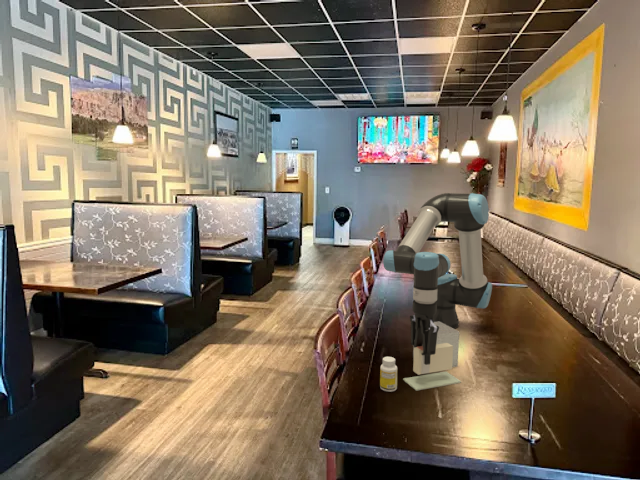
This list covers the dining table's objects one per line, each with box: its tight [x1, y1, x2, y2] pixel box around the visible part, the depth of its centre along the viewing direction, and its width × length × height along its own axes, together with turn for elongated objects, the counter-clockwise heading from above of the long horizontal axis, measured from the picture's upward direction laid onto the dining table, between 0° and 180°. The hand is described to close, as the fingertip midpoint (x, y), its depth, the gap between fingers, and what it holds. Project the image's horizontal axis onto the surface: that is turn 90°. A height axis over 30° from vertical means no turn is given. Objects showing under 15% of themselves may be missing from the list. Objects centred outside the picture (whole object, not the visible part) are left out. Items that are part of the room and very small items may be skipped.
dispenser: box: [412, 321, 460, 368], centre depth 161 cm, size 12×12×13 cm
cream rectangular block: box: [412, 343, 453, 376], centre depth 146 cm, size 13×3×8 cm, turn 110°
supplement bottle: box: [379, 356, 398, 393], centre depth 141 cm, size 5×5×10 cm
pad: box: [402, 370, 462, 391], centre depth 147 cm, size 17×8×1 cm, turn 110°
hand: (421, 370), depth 145 cm, fingers closed on cream rectangular block, 3 cm apart
